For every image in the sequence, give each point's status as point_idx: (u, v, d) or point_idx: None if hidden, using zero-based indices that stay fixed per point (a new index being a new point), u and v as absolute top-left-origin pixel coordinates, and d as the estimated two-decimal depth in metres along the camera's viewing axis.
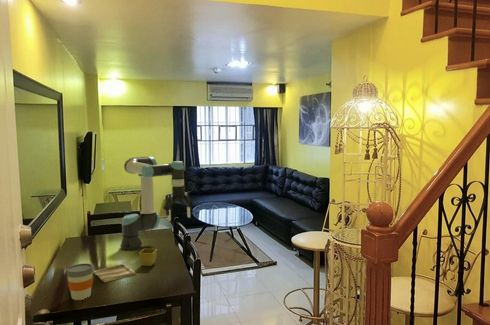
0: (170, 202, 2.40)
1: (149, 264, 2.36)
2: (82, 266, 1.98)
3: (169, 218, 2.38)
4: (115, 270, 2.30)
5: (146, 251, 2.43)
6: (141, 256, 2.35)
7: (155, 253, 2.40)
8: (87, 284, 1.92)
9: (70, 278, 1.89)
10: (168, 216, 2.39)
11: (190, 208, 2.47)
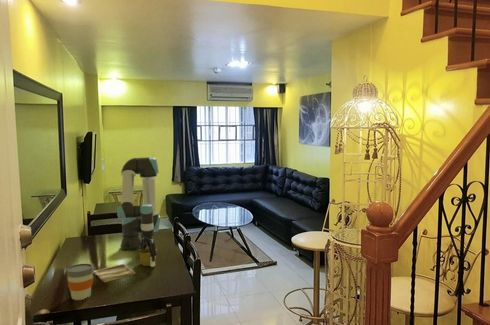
0: (145, 244, 2.43)
1: (149, 264, 2.36)
2: (82, 266, 1.98)
3: None
4: (115, 270, 2.30)
5: (146, 251, 2.43)
6: (141, 256, 2.35)
7: None
8: (87, 284, 1.92)
9: (70, 278, 1.89)
10: None
11: (152, 257, 2.33)
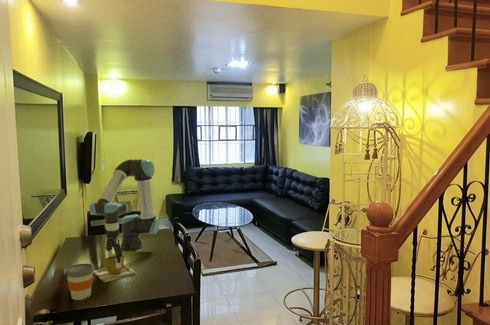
0: None
1: (115, 271, 2.21)
2: (82, 266, 1.98)
3: None
4: None
5: (113, 259, 2.28)
6: (106, 263, 2.21)
7: (122, 260, 2.25)
8: (87, 284, 1.92)
9: (70, 278, 1.89)
10: None
11: (117, 259, 2.18)
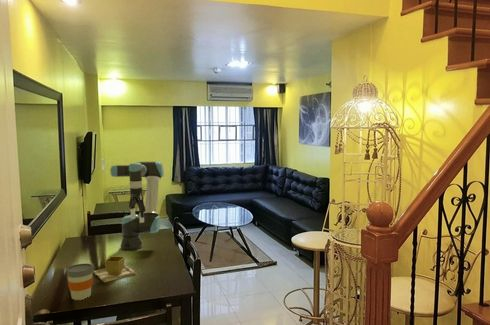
0: (134, 202, 2.48)
1: (115, 273, 2.21)
2: (82, 266, 1.98)
3: (131, 216, 2.49)
4: None
5: (113, 259, 2.27)
6: (107, 265, 2.20)
7: (122, 261, 2.24)
8: (87, 284, 1.92)
9: (70, 278, 1.89)
10: None
11: (141, 213, 2.37)
